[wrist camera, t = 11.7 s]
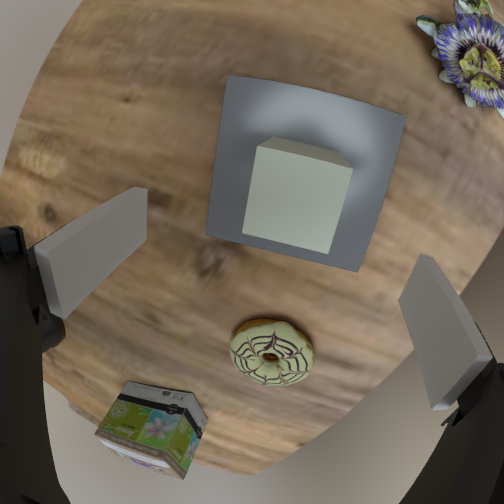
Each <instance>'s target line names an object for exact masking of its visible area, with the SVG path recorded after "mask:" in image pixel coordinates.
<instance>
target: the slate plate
mask: <svg viewBox="0 0 504 504" xmlns="http://www.w3.org/2000/svg"><path fill="white" fill-rule="evenodd" d="M405 121H406V117H405V116H402V115H400V114H397V113H394V112H391V111H388V110H386V109H383V108H380V107H377V106H374V105H370V104H367V103H364V102H361V101H357V100H354V99H350V98H347V97H343V96H340V95H336V94H332V93H328V92H324V91H320V90H315V89H311V88H306V87H302V86H297V85H292V84H287V83H281V82H275V81H269V80H263V79H256V78H249V77H241V76H232V75H228V78H227V84H226V90H225V95H224V101H223V108H222V114H221V120H220V127H219V133H218V140H217V147H216V154H215V161H214V168H213V176H212V184H211V192H210V200H209V208H208V217H207V226H206V235H207V236H211V237H215V238H219V239H224V240H228V241H232V242H236V243H240V244H244V245H248V246H252V247H256V248H260V249H264V250H269V251H273V252H277V253H281V254H285V255H289V256H293V257H297V258H301V259H305V260H309V261H313V262H317V263H321V264H325V265H329V266H333V267H337V268H341V269H345V270H349V271H353V272H357V273H358V271H359V268H360V266H361V263H362V261H363V258H364V255H365V253H366V250H367V247H368V245H369V242H370V239H371V236H372V234H373V231H374V228H375V225H376V222H377V219H378V216H379V213H380V210H381V207H382V204H383V201H384V198H385V195H386V192H387V188H388V185H389V182H390V178H391V175H392V171H393V168H394V164H395V161H396V157H397V153H398V149H399V146H400V142H401V138H402V134H403V129H404V125H405ZM273 136H274V137H279V138H284V139H289V140H293V141H298V142H302V143H306V144H310V145H314V146H318V147H322V148H326V149H330V150H334V151H338V152H341V153H342V155H343V156H344V157H345V159H346V160H347V161H348V163H349V164H350V165H351V167H352V168H353V171H352V175H351V179H350V182H349V186H348V190H347V193H346V197H345V200H344V204H343V207H342V211H341V214H340V217H339V221H338V224H337V227H336V230H335V234H334V237H333V240H332V243H331V246H330V249H329V253H328V254H325V253H321V252H317V251H313V250H309V249H305V248H301V247H297V246H293V245H289V244H285V243H281V242H277V241H273V240H269V239H265V238H260V237H256V236H252V235H248V234H244V233H242V230H243V224H244V218H245V212H246V207H247V201H248V195H249V189H250V184H251V178H252V172H253V167H254V161H255V155H256V150H257V146H258V145H260V144H261V143H263V142H265V141H267V140H268V139H270V138H272V137H273Z"/></svg>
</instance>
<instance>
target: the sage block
mask: <svg viewBox="0 0 504 504" xmlns="http://www.w3.org/2000/svg"><path fill="white" fill-rule="evenodd" d="M352 171H353V168H352V167H351V165H350V164H349V163H348V161H347V160H346V159H345V157H344V156H343V155H342V153H341V152H338V151H334V150H330V149H326V148H322V147H318V146H314V145H310V144H306V143H302V142H298V141H293V140H289V139H284V138H279V137H274V136H273V137H272V138H270V139H268V140H267V141H265V142H263V143H261V144H260V145H258V146H257V150H256V155H255V161H254V167H253V172H252V178H251V184H250V189H249V195H248V201H247V207H246V212H245V218H244V224H243V230H242V233H244V234H248V235H252V236H256V237H260V238H265V239H269V240H273V241H277V242H281V243H285V244H289V245H293V246H297V247H301V248H305V249H309V250H313V251H317V252H321V253H325V254H328V253H329V249H330V246H331V243H332V240H333V237H334V234H335V230H336V227H337V224H338V221H339V217H340V214H341V211H342V207H343V204H344V200H345V197H346V193H347V190H348V186H349V182H350V179H351V175H352Z"/></svg>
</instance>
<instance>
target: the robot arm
mask: <svg viewBox="0 0 504 504" xmlns="http://www.w3.org/2000/svg"><path fill="white" fill-rule="evenodd" d="M147 193H148V189H145V188H139V187H133V188H131V189H129V190H127V191H125V192H123V193H121V194H119V195H118V196H116V197H114V198H112V199H110V200H108V201H107V202H105V203H103V204H101V205H99V206H98V207H96V208H94V209H92V210H91V211H89V212H87V213H85V214H84V215H82V216H80V217H79V218H77V219H75V220H74V221H72V222H70V223H69V224H67V225H65V226H63V227H61V228H60V229H58V230H56V231H55V232H53V233H52V234H50V235H49V236H48V237H45V238H44V239H42V240H41V241H39V242H38V243H36V244H35V245H33V246H32V247H31V248H29V249H28V250H27V249H26V244H25V239H24V234H23V229H22V228H21V227H19V226H8V227H4V228H2V229H0V504H70V501H69V499H68V497H67V496H66V494H65V493H64V491H63V490H62V488H61V486H60V484H59V481H58V478H57V474H56V470H55V465H54V461H53V456H52V451H51V446H50V440H49V434H48V427H47V420H46V411H45V402H44V389H43V371H42V353H44V352H45V351H47V350H49V349H50V348H51V347H52V348H53V347H56V346H57V345H59V344H60V342H61V341H62V340H63V339H64V337H65V329H64V326H63V323H62V320H61V318H62V319H64V320H65V319H66V318H67V317H68V316H69V315H70V314H71V313H72V312H73V311H74V309H75V308H76V307H77V306H78V305H79V304H80V303H81V302H82V301H83V300H84V299H85V298H86V297H87V296H88V295H89V294H90V293H91V292H92V291H93V290H94V289H95V288H96V287H97V286H98V285H99V284H100V283H101V282H102V281H103V280H105V279H106V278H107V277H108V276H109V275H110V274H111V273H112V272H113V271H114V270H115V269H116V268H117V267H118V266H119V265H120V264H121V263H122V262H124V261H125V260H126V259H127V258H128V257H129V256H130V255H131V254H132V253H133V252H134V251H135V250H137V249H138V248H139V247H140V246H141V245H142V244H143V243H144V242H145V241H147ZM398 302H399V305H400V307H401V310H402V313H403V316H404V318H405V321H406V324H407V327H408V330H409V333H410V336H411V339H412V342H413V345H414V348H415V351H416V355H417V358H418V361H419V365H420V368H421V371H422V375H423V379H424V382H425V386H426V390H427V394H428V398H429V402H430V406H431V410H447V409H448V408H449V407H450V406H451V405H452V404H453V403H454V402H455V401H456V400H457V401H458V405H459V407H458V408H457V409H456V410H455V411H454V412H453V413H452V414H451V415H450V416H449V417H448V418H447V419H446V420H445V421H444V422H443V423H442V424H441V426H444V425H445V423H448V425H447V427H446V428H445V431H444V433H443V434H442V436H441V438H440V440H439V442H438V444H437V446H436V448H435V449H434V451H433V453H432V455H431V456H430V458H429V460H428V461H427V463H426V465H425V466H424V468H423V469H422V471H421V473H420V474H419V476H418V477H417V479H416V480H415V482H414V483H413V485H412V486H411V488H410V489H409V491H408V492H407V493H406V495H405V496H404V498H403V499H402V500H401V502H400V503H399V504H504V363H497V361H496V359H495V357H494V355H493V354H492V351H491V350H490V347H489V346H488V344H487V342H486V341H485V338H484V336H483V335H482V334H481V333H482V332H481V331H480V329H479V327H478V325H477V324H476V323H475V321H474V320H473V319H472V317H471V316H470V314H469V312H468V310H467V309H466V307H465V305H464V304H463V302H462V300H461V299H460V297H459V296H458V294H457V292H456V291H455V289H454V288H453V286H452V285H451V283H450V282H449V280H448V279H447V277H446V276H445V274H444V273H443V271H442V270H441V268H440V267H439V265H438V264H437V262H436V261H435V260H434V258H433V257H430V256H427V255H424V254H420V255H419V257H418V260H417V262H416V264H415V267H414V269H413V271H412V273H411V275H410V277H409V280H408V282H407V284H406V286H405V288H404V290H403V292H402V294H401V296H400V298H399V300H398Z"/></svg>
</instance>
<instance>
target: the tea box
mask: <svg viewBox="0 0 504 504" xmlns="http://www.w3.org/2000/svg"><path fill="white" fill-rule="evenodd" d="M207 421H208V420H207V418H206V417H205V415H204V413H203V411H202V409H201V407H200V406H199V404H198V402H197V400H196V398H195V397H194V395H193V393H184V392H178V391H172V390H167V389H161V388H156V387H152V386H147V385H143V384H138V383H135V382H131V381H129V382H127V384H126V385H125V386H124V388H123V389H122V391H121V393H120V394H119V396H118V397H117V399H116V400H115V402H114V403H113V405H112V407H111V408H110V410H109V411H108V413H107V414H106V416H105V418H104V419H103V421H102V422H101V424H100V425H99V427H98V429H97V431H96V432H95V436H96V437H97V438H98V439H99V440H100V441H101V442H102V443H103V444H104V445H105V446H107V447H108V448H109V449H110V450H111V451H112V452H113V453H114V454H115V455H116V456H117V457H119V458H120V459H123V460H125V461H128V462H130V463H133V464H136V465H138V466H141V467H144V468H147V469H149V470H152V471H155V472H159V473H162V474H165V475H168V476H172V477H175V478H178V479H182V480H183V479H184V478H185V475H186V473H187V471H188V468H189V466H190V464H191V461H192V459H193V456H194V454H195V452H196V449H197V447H198V444H199V442H200V439H201V437H202V434H203V432H204V429H205V427H206V424H207Z"/></svg>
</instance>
